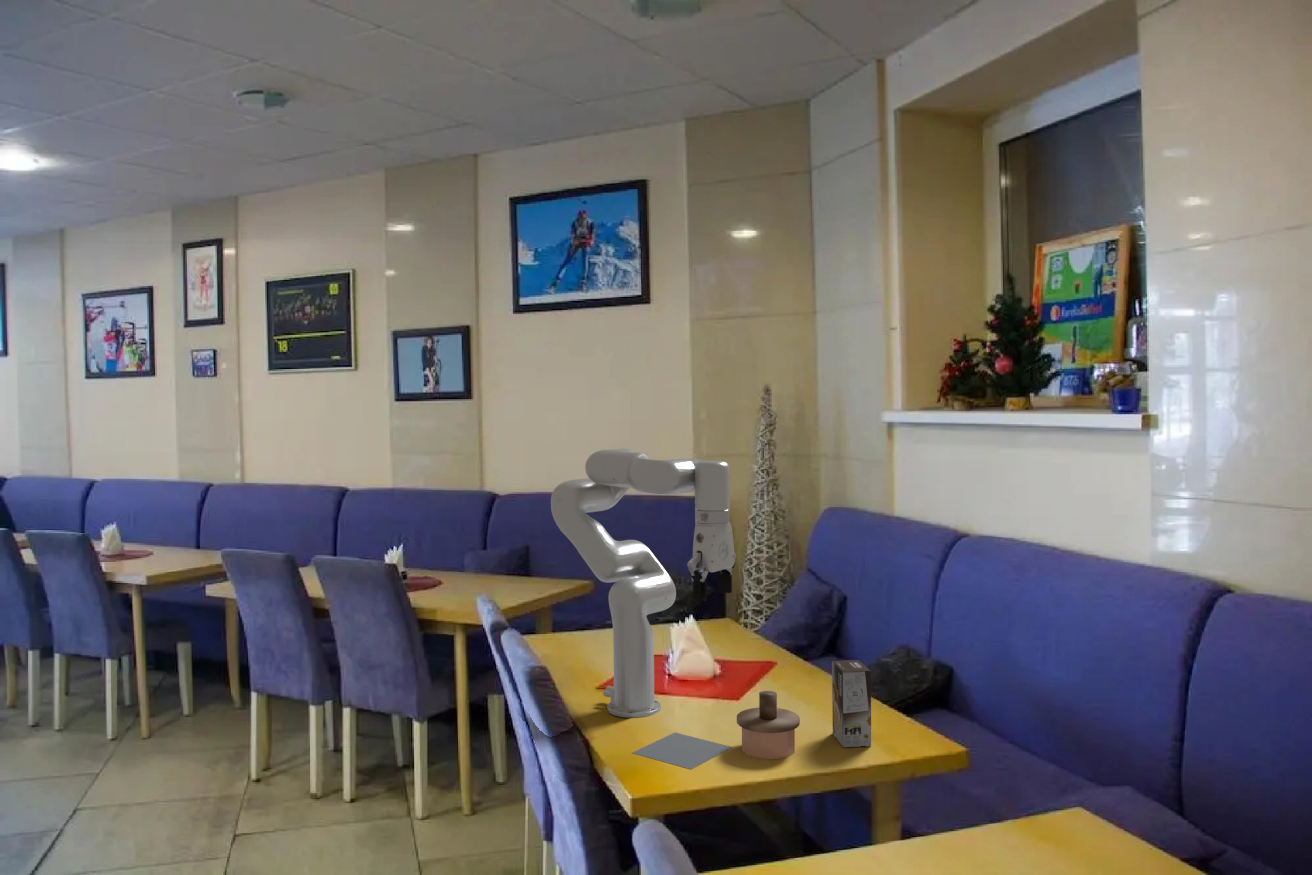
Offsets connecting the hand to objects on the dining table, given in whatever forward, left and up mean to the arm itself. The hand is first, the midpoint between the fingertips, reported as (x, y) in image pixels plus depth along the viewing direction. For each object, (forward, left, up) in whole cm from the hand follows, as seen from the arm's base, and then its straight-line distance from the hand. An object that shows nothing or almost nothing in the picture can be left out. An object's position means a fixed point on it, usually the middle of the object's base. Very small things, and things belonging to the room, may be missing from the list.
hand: (712, 595), depth 205 cm
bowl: (+15, -2, -30) cm, 34 cm away
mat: (+1, -13, -30) cm, 33 cm away
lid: (+15, -2, -24) cm, 29 cm away
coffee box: (+26, +14, -31) cm, 42 cm away
